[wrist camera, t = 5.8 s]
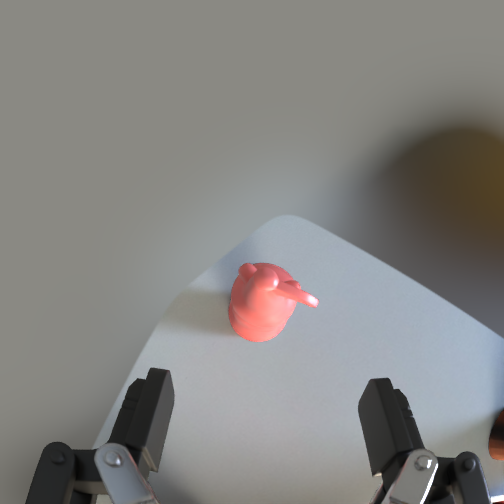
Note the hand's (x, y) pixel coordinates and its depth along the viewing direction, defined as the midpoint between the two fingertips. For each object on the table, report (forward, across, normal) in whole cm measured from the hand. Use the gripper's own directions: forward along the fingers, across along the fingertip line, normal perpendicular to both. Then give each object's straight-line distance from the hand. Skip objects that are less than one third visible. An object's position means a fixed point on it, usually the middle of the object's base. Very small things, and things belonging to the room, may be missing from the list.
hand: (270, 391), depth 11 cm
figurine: (+15, 0, +8) cm, 17 cm away
